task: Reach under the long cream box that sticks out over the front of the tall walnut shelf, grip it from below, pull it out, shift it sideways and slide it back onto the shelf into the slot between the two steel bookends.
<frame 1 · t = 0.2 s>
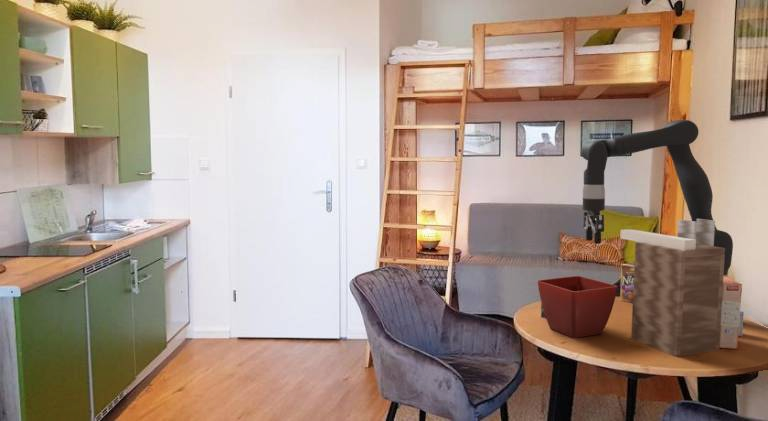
hand: (593, 241, 210), 29 cm above the table, tool pointing down, fingers open, 8 cm apart
cracker box: (719, 342, 188), on the table
cream box: (655, 243, 185), point 32 cm above the table, touching walnut shelf
candy box: (632, 302, 238), on the table
plant pot: (574, 331, 199), on the table
medicine box: (727, 334, 197), on the table
coffee box: (551, 317, 216), on the table
walnut shelf: (673, 344, 185), on the table
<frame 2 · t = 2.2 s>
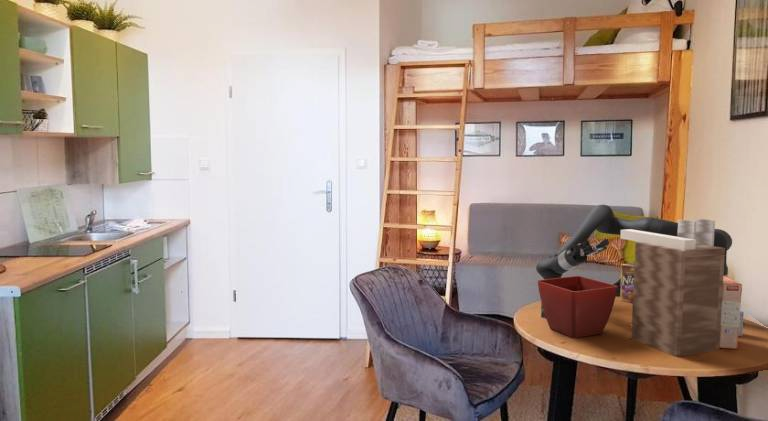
hand: (598, 241, 210), 29 cm above the table, tool pointing upward, fingers open, 8 cm apart
nothing on the table moved.
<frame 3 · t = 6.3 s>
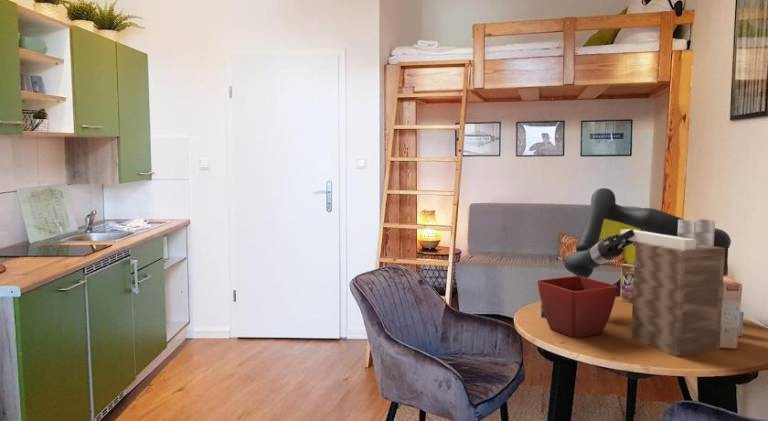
hand: (638, 232, 192), 35 cm above the table, tool pointing upward, fingers closed on cream box, 4 cm apart
cream box: (655, 243, 185), point 32 cm above the table, touching gripper, walnut shelf
everything else where it was.
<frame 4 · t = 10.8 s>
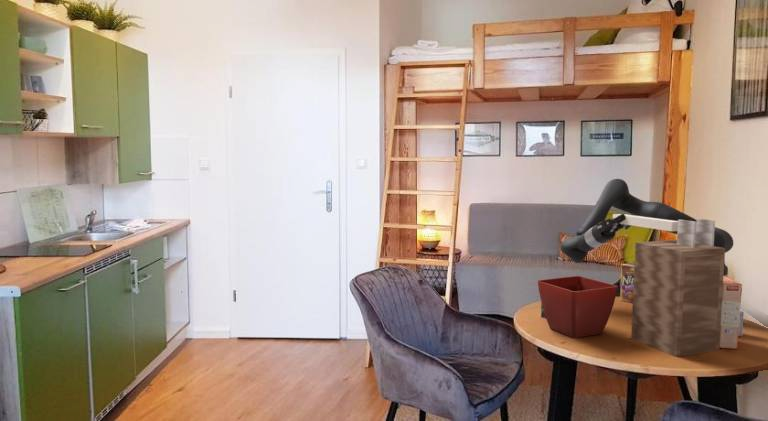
hand: (629, 216, 205), 39 cm above the table, tool pointing upward, fingers closed on cream box, 4 cm apart
cream box: (645, 226, 198), point 36 cm above the table, touching gripper
everything else where it was.
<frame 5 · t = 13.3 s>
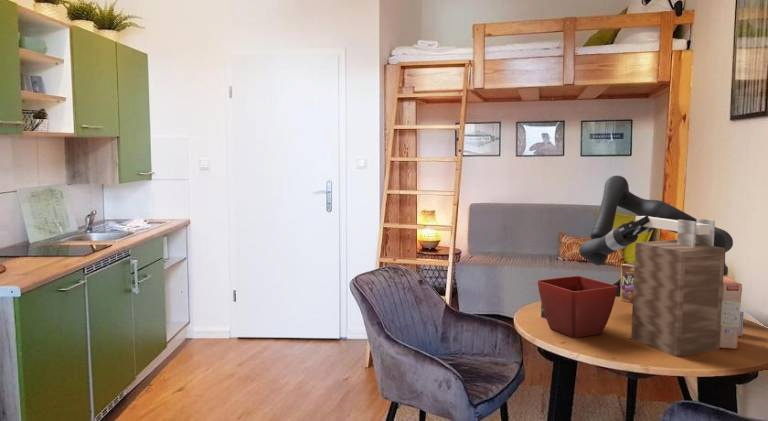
hand: (653, 218, 197), 39 cm above the table, tool pointing upward, fingers closed on cream box, 4 cm apart
cream box: (670, 229, 191), point 36 cm above the table, touching gripper
everything else where it was.
when the fingers open (36 cm above the table, at t = 15.5 s): cream box stays where it is, resting on walnut shelf.
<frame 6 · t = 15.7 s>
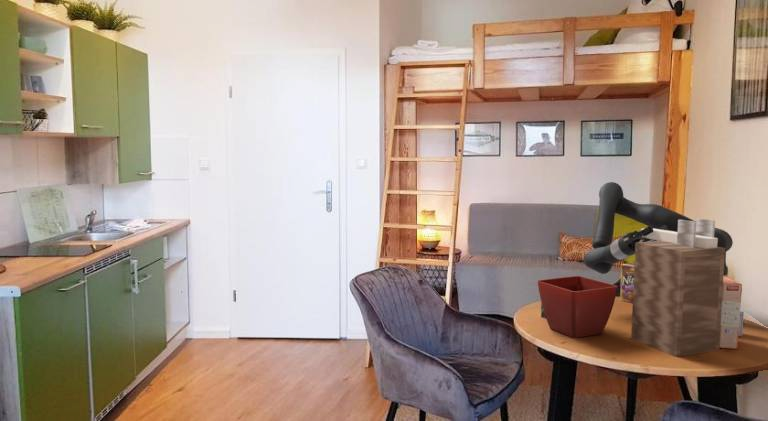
hand: (659, 228, 195), 36 cm above the table, tool pointing upward, fingers open, 6 cm apart
cream box: (676, 242, 189), point 32 cm above the table, touching walnut shelf
everything else where it was.
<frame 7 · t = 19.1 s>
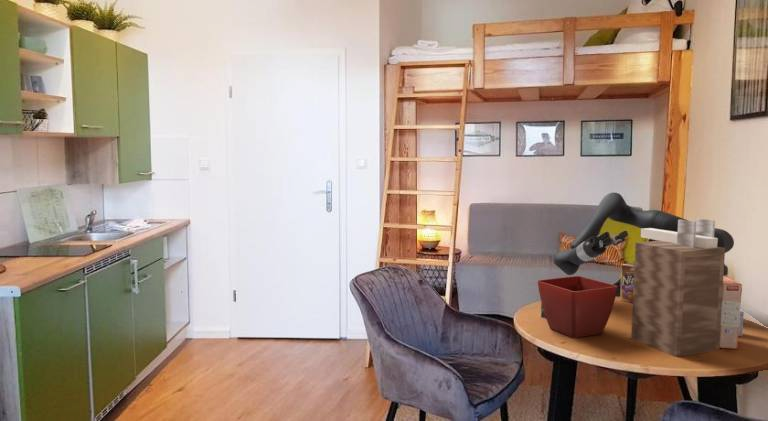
hand: (617, 233, 213), 31 cm above the table, tool pointing upward, fingers open, 8 cm apart
nothing on the table moved.
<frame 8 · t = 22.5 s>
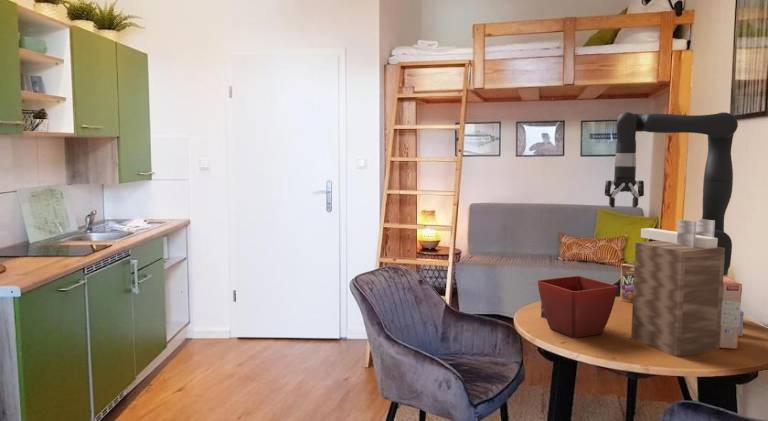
hand: (623, 207, 223), 40 cm above the table, tool pointing down, fingers open, 8 cm apart
nothing on the table moved.
at the end: cream box 0.0 cm from the target spot on the walnut shelf, point 32.0 cm above the walnut shelf's base; cream box tilted 0°; the gripper is holding nothing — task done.
